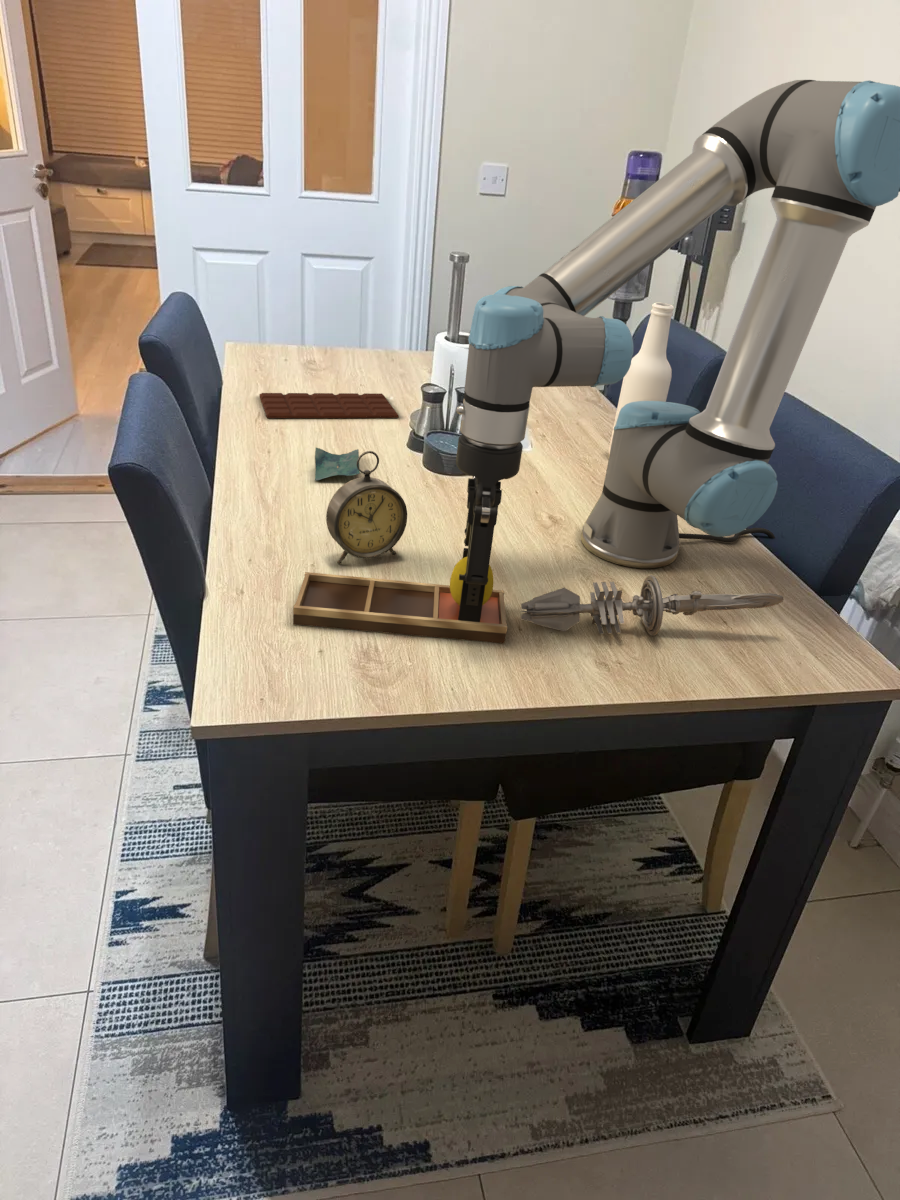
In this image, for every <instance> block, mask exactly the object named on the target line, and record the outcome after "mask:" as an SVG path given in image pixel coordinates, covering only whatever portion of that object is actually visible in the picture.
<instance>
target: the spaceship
mask: <svg viewBox="0 0 900 1200" xmlns="http://www.w3.org/2000/svg"><path fill="white" fill-rule="evenodd" d="M600 583H601V587H602V591H601V590H600V587H599V583H598V582H597V581H595V582H592V585H593V590H594V591H591V592H589V595H590V603H581V597H580V595H579V594H577V593H575V592H574V591H572V590H570V589H568V588H567V587H564V586H563V587H561V588H558V589H555V590H553V591H550V592H546V593H544V594H542V595H538V596H535V597H532V599H531V600H528V601H525V602H523V603H521V604H520V608H521V609H522V610H520V611H519V612H520V613H522V614H520V620H522V621H525V622H526V621H527V622H529V623H533V625H537V626H541V627H544V628H549V629H553V630H556V631H557V630H558V631H562V632H567V631H568V630H569V629H571V628H572V627H574V626H576V625H577V624H579V623H580V621H581V614H590V616H591V617H592V619H591V624H595V625H596V628H597V631H598V633H599V635H603V634H604V628H603V625H604V626H605V629H606V632H607V634H609V635H610V634H613V629H612V625H613V627H614V630H615V632H616V634H621V632H622V631H621V627H620V624H625V618H624V612H625V611H629V612H631V611H632V614H633V616H636V617H639V618H641V620H642V623H643V626H644V628H645V630H646V632H647V633H648V634H649V635H651V636H653V637H654V636H656V635H658V633H659V632H660V630H661V627H662V625H663V617H664V612H665V613H668V614H672V615H678V614H680V613H682V615H683V616H693V615H695V614H696V613H698V612H705V611H731V610H734V611H735V610H744V609H752V610H753V609H764V608H769V607H770V608H771V607H774V606H776V605H780V604H781V603H782V602H784V596H783V595H780V594H778V593H774V592H759V593H745V594H743V593H742V594H735V593H711V594H709V593H702V592H701V591H700V590H695V591H691V593H688V594H681V595H680V594H678V593H673V594H669V595H667V596H666V597H663V592H662V589H661V586H660V583H659V581H658V579H657V577H655V576H654V575H652V574H649V575H647V576H646V577H645V578H644V580H643V582H642V586H641V590H640V594H639V595H640V596H639V595H637V594H635V595H633V596H632V601H629V602H624V601H623V598H622V595H623V590H618V589H617V586H616V584H615V582H614V581H609V585H610V589H611V590H609V588H608V585H607V582H606V581H601V582H600Z"/></svg>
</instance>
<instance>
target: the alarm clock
mask: <svg viewBox="0 0 900 1200" xmlns="http://www.w3.org/2000/svg"><path fill="white" fill-rule="evenodd" d="M369 454H372V455H374V456H375V458H376V464H375V466H374V468H373V469H372V470H369V469H365V470H364V471H363V470H361V469H360V468H361V467H360V461H361V459H362V457H364V456H365V455H369ZM379 463H380V458H379V455H378V453H376V452H375V451H372V450H366V451H364V452H362V453H361V454H359V458H358V459H357V468H358V470H359V471H360V474H363V475H364V476H362V477H356V478H353V479H351V480H349V481H348V482H346V483H344V484H343V485H341V486H340V487H339V488H338V489H337V490H335V493H334V494H333V496H332V497H331V499H330V500H329V503H328V505H327V508H326V515H325V516H326V517H325V521H326V528H327V530H328V532H329V535H330V536H331V538H332V539H333V540H334V541H335V542H336V543H337V545H338V546H339V547H340V548H341V549H342V550H343V551H342V553H341V555H340V556H339V559H338V560H337V561H336V564H337V565H342V563H343V560H345V559H346V557H347V556H348V555H349V556H352V557H353V558H359V559H373V558H375V557H380V556H382V555H384V554H386V553H387V552H390V554H391V555H392V556H393V557H394V556H396V555H397V552H396V551H395V550H394V549H393V548H394V547H395V546H396V545H397V543H398V542H399V541H400V540H401V538H402V536H403V535H404V533H405V530H406V527H407V524H408V523H407V522H408V509H407V504H406V502H405V500H404V498H403V497H402V495H401V494H400V493H399V492H398V491H397V490H396V489H394V488H392V486H390V485H389V484H388V483H387V482H385V481H383V480H381V479H379V478H376V477H371V474H372V473H374V472H375V471H376V470H377V469H378V467H379Z"/></svg>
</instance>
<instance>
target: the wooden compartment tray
mask: <svg viewBox="0 0 900 1200" xmlns="http://www.w3.org/2000/svg"><path fill="white" fill-rule="evenodd" d="M298 592H299V593H298V595H297V598H296V600H295V604H294V605H293V607H292V625H294V626H295V625H297V626H307V627H316V628H317V627H319V628H329V629H339V630H351V631H360V632H361V631H362V632H363V631H364V632H373V633H384V634H393V635H394V634H395V635H405V636H416V637H417V636H418V637H426V638H427V637H428V638H439V639H440V638H441V639H449V640H461V641H470V642H471V641H472V642H481V643H482V642H483V643H492V644H493V643H494V644H506V639H507V631H508V624H507V615H506V606H505V603H506V602H505V590H501V589H493V591H492V594H491V596H490V598H489V600H488V601H487V602H486V603H485V604H484V605H483V606H482V611H481V618H480V622H472V621H461V620H458V617H459V609H460V605H458V604H457V603H456V602H455V600H454V599H453V597H452V595H451V591H450V584H449V585H447V584H438V583H427V582H416V581H406V580H396V579H395V580H394V579H385V578H373V577H363V576H362V577H361V576H352V575H341V574H332V573H331V574H330V573H321V572H310V571H305V572H304V577H303V580H302V583H301V586H300V589H299V591H298Z"/></svg>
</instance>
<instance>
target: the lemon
mask: <svg viewBox="0 0 900 1200" xmlns="http://www.w3.org/2000/svg"><path fill="white" fill-rule="evenodd" d="M462 558H463V557H462ZM462 558H461V559H459V560H458V561H457V562H456V564H455V565H454V567H453V569H452V572H451V575H450V579H449V585H450V591H451V595H452V597H453V599H454V600H455V602H456V603H457V604H458V605H460V601H461V593H462V585H463V580H459V574H463V575H464V574H465V573H466V566H467V557H464V558H463V559H462ZM494 583H495V581H494V570H493V569H492V566H491V565H490V564H489V570H488V582H487V584H486V585H485V590H484V597H483V604H482V606H483V605H484V604H485V603H486V602H487V601H488V600H489V598H490V596H491V594H492V591H493V590H494Z"/></svg>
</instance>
